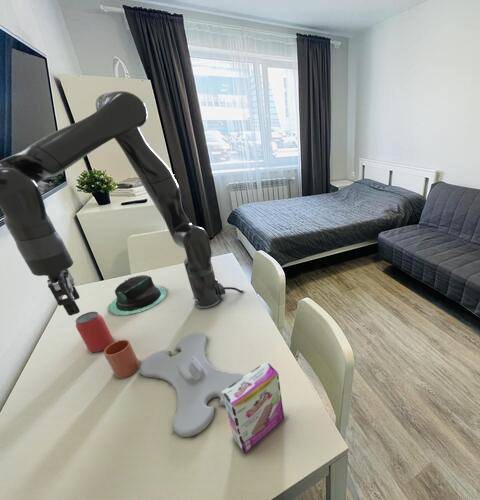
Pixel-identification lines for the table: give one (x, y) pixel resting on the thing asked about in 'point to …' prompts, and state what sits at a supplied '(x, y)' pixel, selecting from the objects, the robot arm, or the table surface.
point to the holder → (190, 382)
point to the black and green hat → (136, 295)
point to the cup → (122, 358)
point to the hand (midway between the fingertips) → (74, 306)
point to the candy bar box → (254, 405)
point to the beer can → (94, 331)
